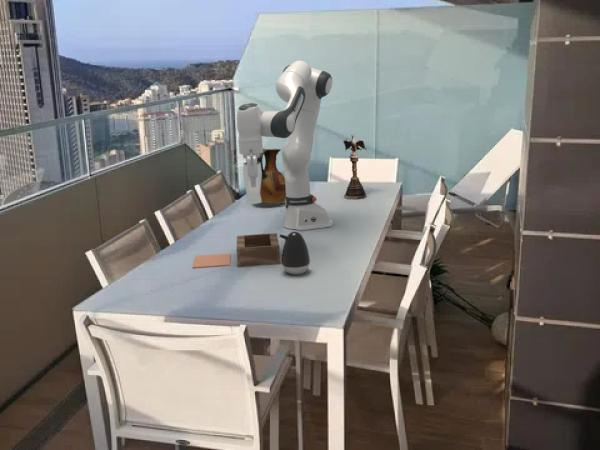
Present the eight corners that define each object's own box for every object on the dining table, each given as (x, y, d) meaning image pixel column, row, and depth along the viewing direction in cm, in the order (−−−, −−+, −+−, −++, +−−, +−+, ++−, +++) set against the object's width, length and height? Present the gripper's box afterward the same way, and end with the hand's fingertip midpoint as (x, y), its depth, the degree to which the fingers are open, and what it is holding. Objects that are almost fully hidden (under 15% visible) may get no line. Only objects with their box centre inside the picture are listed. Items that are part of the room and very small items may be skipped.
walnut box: (238, 252, 249) (236, 235, 248) (277, 249, 251) (276, 232, 249) (237, 266, 232) (236, 248, 230) (280, 263, 233) (279, 245, 231)
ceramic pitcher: (296, 201, 333) (293, 146, 325) (275, 210, 316) (271, 151, 309) (266, 198, 343) (263, 144, 335) (244, 206, 327) (240, 150, 319)
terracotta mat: (230, 254, 247) (230, 253, 247) (229, 265, 234) (229, 264, 234) (195, 257, 246) (195, 255, 246) (192, 268, 233) (192, 267, 233)
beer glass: (265, 200, 238) (264, 161, 234) (258, 204, 231) (256, 165, 227) (249, 199, 240) (247, 161, 236) (241, 203, 234) (239, 164, 230)
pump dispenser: (282, 268, 228) (280, 228, 224) (310, 267, 228) (308, 227, 224) (280, 277, 218) (278, 236, 214) (310, 276, 218) (308, 235, 214)
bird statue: (346, 192, 348) (344, 130, 339) (369, 193, 345) (367, 130, 335) (339, 199, 333) (337, 134, 324) (363, 199, 329) (361, 133, 320)
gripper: (260, 151, 220) (262, 189, 224) (258, 144, 240) (260, 179, 244) (242, 152, 220) (245, 191, 224) (242, 145, 240) (244, 180, 243)
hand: (253, 184), depth 234 cm, fingers closed on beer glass, 6 cm apart
